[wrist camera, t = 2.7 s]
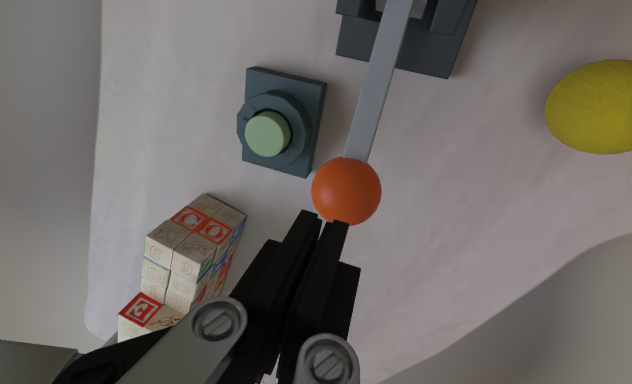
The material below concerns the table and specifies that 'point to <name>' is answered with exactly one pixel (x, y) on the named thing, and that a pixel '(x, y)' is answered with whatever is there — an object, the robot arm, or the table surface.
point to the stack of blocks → (182, 265)
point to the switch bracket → (408, 34)
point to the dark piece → (295, 106)
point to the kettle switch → (365, 126)
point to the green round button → (267, 133)
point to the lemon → (593, 108)
